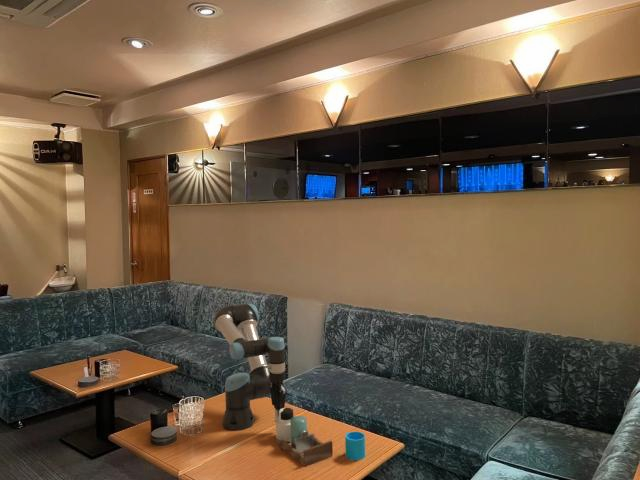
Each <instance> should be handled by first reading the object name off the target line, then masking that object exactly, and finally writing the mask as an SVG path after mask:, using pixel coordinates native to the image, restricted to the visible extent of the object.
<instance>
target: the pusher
mask: <svg viewBox="0 0 640 480" xmlns="http://www.w3.org/2000/svg"><path fill="white" fill-rule="evenodd" d="M308 433H309V431H308V429H307V430H306V431H303V432H301V437H299V438H296V439H294V443H295V449H296V450H297V451H299V452H300V453H303V450H306V449H308V448H311V447H314V446H315V443H314V437H315V433H314V432H310V433H309V434H308Z"/></svg>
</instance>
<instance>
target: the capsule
mask: <svg viewBox="0 0 640 480" xmlns="http://www.w3.org/2000/svg"><path fill="white" fill-rule="evenodd" d="M307 419H308V418H307V417H305V416H302V415H296V416H294V417H292V418H291V419H290V423H291V442H290V445H291V446H292V447H293V448H295V443H294V439H296V438H299V437H301V432H303V431H306V430H307V431H308V420H307Z"/></svg>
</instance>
